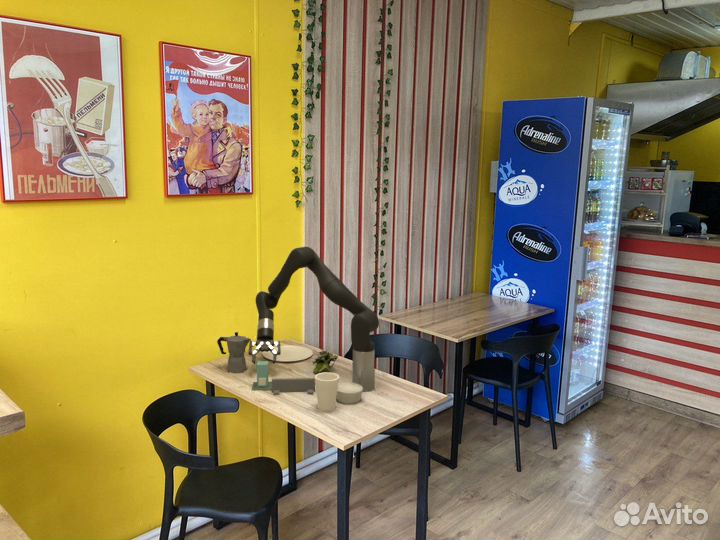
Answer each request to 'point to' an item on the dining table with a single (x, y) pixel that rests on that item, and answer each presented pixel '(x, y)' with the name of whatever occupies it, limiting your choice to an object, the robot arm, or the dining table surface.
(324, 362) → the passion flower
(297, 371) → the dining table surface
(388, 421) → the dining table surface
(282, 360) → the plate
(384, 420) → the dining table surface
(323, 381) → the foam cup
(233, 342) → the coffeepot
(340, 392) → the ramekin
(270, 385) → the mat
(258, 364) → the block
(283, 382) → the screen
